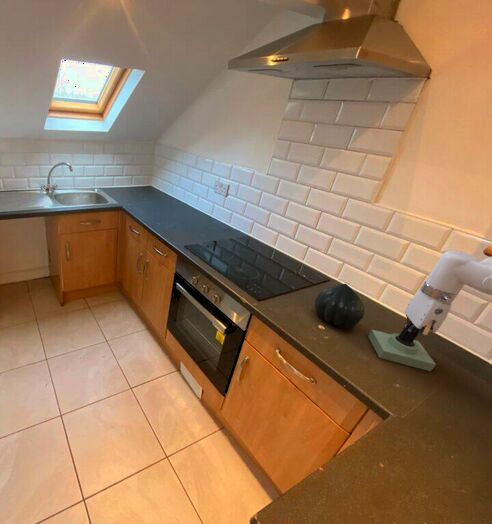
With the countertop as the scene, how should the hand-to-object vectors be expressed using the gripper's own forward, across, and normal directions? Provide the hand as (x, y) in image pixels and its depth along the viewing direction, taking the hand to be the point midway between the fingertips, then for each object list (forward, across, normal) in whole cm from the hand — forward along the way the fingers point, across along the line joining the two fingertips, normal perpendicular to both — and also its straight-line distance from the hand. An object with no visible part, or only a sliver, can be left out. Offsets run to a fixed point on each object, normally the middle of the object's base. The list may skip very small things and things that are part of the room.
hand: (405, 339), depth 96 cm
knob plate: (+6, 0, 0) cm, 6 cm away
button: (+2, 0, 0) cm, 2 cm away
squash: (+6, +10, +17) cm, 21 cm away
